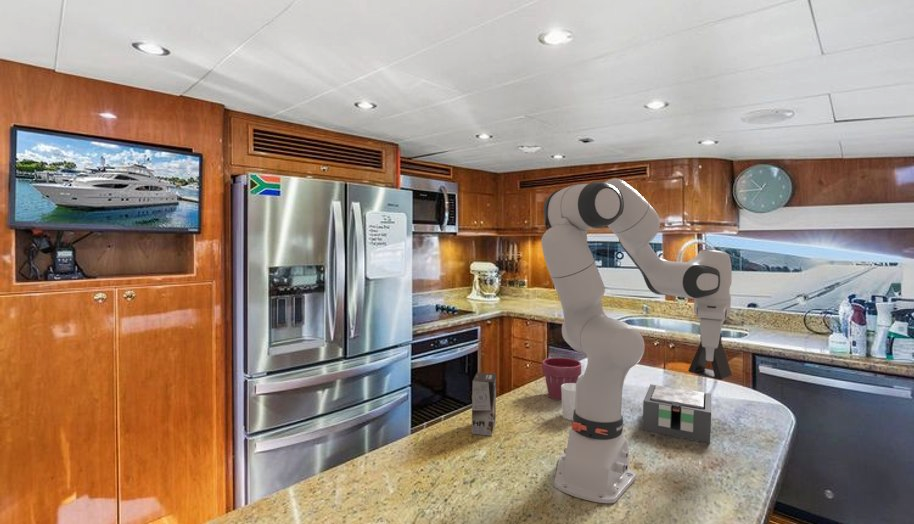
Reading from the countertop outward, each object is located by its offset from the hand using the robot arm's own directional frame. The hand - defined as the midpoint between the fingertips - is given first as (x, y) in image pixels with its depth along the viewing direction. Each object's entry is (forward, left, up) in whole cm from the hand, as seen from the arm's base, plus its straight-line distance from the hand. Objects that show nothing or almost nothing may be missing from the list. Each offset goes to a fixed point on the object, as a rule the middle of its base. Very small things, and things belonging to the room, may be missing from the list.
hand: (709, 357), depth 126 cm
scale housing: (+11, +8, -25) cm, 29 cm away
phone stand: (0, 0, -5) cm, 5 cm away
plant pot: (+18, +47, -26) cm, 57 cm away
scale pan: (+10, +8, -17) cm, 21 cm away
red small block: (+2, +8, -17) cm, 19 cm away
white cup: (+1, +38, -26) cm, 46 cm away
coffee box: (-22, +59, -26) cm, 68 cm away
